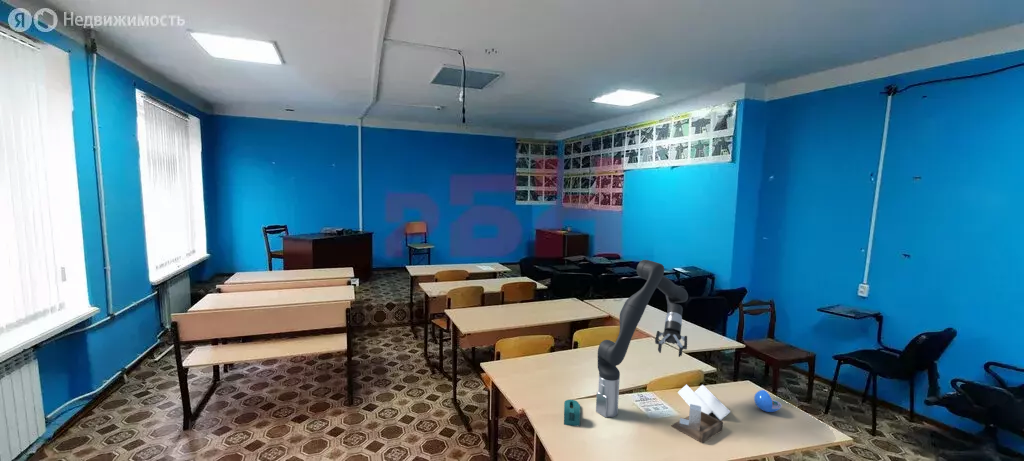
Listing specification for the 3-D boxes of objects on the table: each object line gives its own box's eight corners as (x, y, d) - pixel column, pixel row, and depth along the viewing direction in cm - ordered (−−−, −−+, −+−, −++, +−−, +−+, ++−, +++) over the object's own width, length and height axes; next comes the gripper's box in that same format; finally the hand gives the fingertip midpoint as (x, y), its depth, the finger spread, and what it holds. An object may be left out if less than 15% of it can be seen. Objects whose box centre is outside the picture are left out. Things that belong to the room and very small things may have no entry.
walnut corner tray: (701, 443, 164) (702, 434, 163) (671, 426, 175) (671, 417, 175) (722, 430, 173) (722, 421, 172) (691, 415, 184) (692, 407, 184)
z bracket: (710, 429, 181) (701, 420, 180) (685, 400, 206) (677, 392, 205) (730, 411, 180) (721, 402, 180) (703, 384, 205) (695, 376, 205)
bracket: (579, 426, 173) (580, 409, 173) (563, 424, 174) (564, 407, 174) (578, 404, 191) (579, 389, 190) (564, 403, 192) (564, 387, 191)
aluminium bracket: (699, 426, 175) (701, 406, 174) (699, 431, 171) (701, 411, 170) (679, 421, 178) (681, 401, 177) (679, 426, 174) (680, 406, 173)
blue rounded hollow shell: (786, 416, 186) (788, 396, 185) (762, 416, 185) (764, 396, 184) (771, 404, 195) (773, 385, 194) (748, 404, 195) (749, 386, 194)
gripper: (657, 317, 198) (653, 347, 189) (689, 322, 192) (686, 353, 183) (658, 325, 204) (654, 354, 194) (688, 330, 197) (685, 360, 188)
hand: (669, 354), depth 189 cm, fingers open, 8 cm apart
